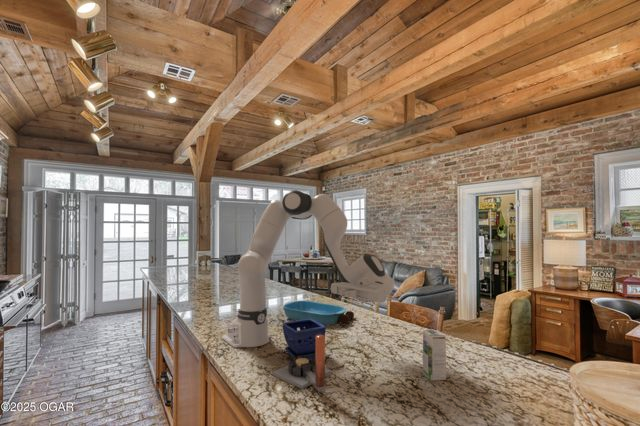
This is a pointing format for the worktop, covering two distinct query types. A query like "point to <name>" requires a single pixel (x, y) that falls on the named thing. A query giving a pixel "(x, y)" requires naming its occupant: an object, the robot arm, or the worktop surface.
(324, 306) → the casserole dish
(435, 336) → the syrup box
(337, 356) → the worktop surface
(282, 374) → the plate
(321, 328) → the flower pot
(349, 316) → the brown pine cone
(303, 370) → the nut with spanner
